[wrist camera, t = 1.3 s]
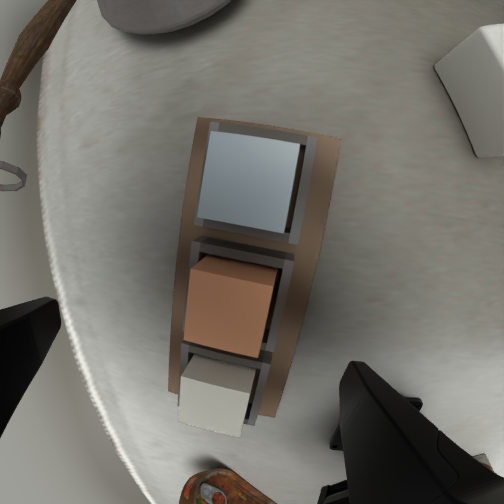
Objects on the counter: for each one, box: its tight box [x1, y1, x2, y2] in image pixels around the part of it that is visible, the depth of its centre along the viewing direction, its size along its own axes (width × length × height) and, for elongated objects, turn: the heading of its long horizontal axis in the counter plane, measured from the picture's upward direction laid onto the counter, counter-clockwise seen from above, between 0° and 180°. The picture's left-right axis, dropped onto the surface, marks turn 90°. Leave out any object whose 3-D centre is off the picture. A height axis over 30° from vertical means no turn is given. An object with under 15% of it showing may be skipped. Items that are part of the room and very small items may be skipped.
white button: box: [179, 354, 256, 438], centre depth 18 cm, size 4×4×3 cm
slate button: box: [197, 131, 300, 233], centre depth 15 cm, size 4×4×3 cm
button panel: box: [168, 117, 341, 426], centre depth 19 cm, size 20×8×3 cm, turn 170°
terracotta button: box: [184, 255, 277, 358], centre depth 16 cm, size 4×4×3 cm
